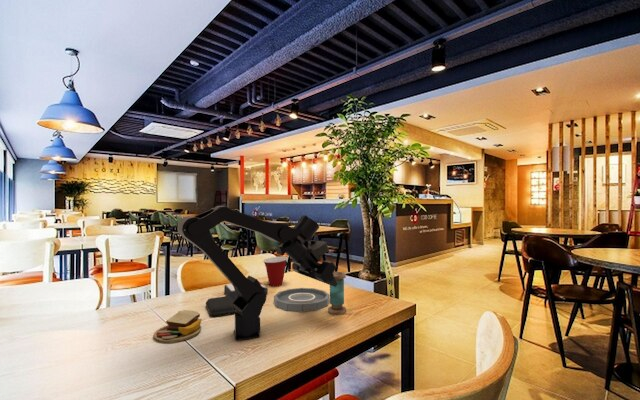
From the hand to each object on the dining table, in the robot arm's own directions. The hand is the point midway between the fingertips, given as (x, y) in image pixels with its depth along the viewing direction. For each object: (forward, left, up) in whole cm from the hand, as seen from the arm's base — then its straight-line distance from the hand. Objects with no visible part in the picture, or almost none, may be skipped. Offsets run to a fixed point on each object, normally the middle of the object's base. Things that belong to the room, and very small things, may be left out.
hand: (328, 282), depth 107 cm
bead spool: (+4, +1, -10) cm, 11 cm away
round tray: (-5, +15, -10) cm, 19 cm away
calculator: (-23, +33, -11) cm, 42 cm away
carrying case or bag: (-33, +17, -11) cm, 39 cm away
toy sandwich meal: (-46, +1, -11) cm, 47 cm away
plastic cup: (-9, +42, -11) cm, 45 cm away
